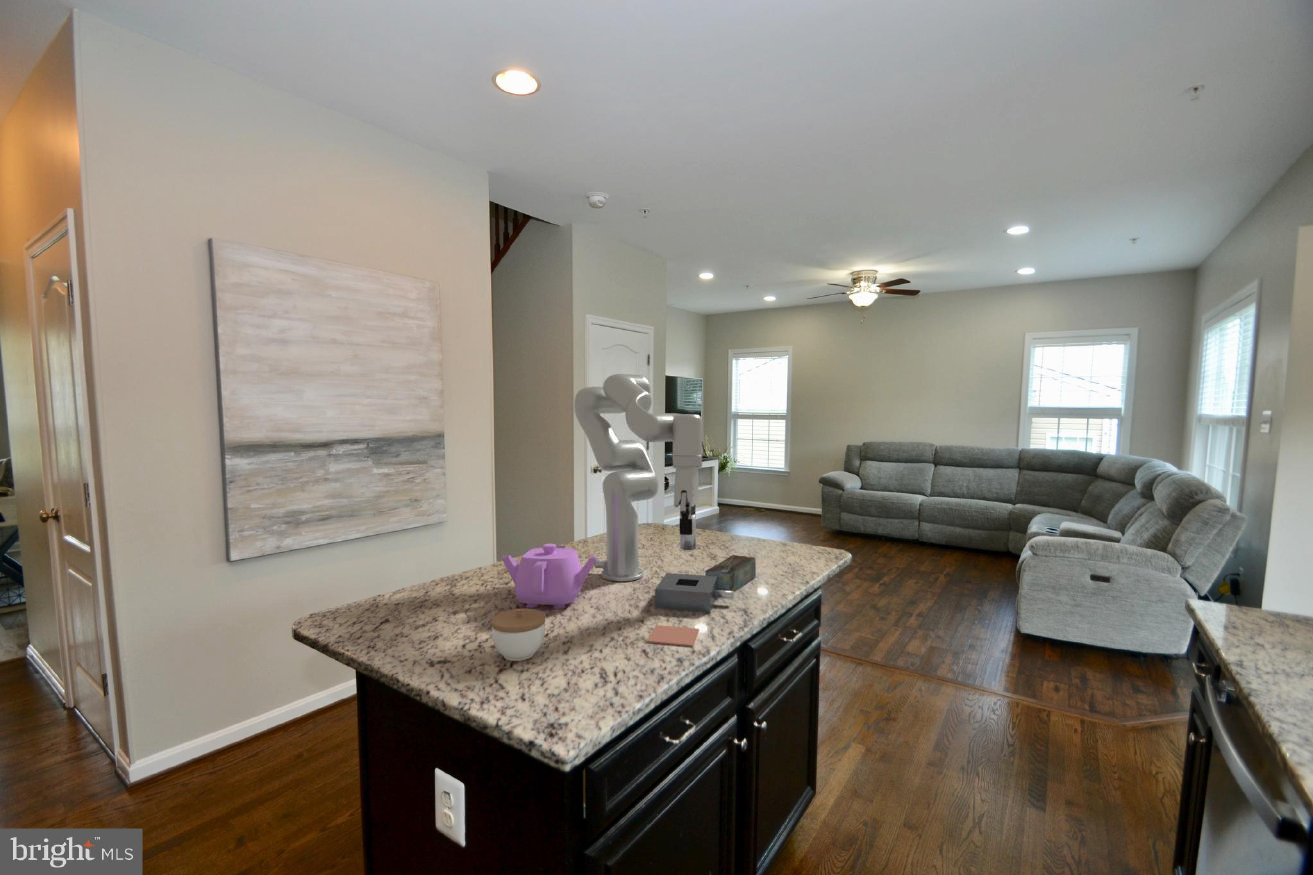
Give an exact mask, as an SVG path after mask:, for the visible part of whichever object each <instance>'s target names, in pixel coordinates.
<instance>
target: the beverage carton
mask: <svg viewBox="0 0 1313 875" xmlns="http://www.w3.org/2000/svg"><path fill="white" fill-rule="evenodd" d="M756 565H757V563H756V557H754V556H753V557H752V556H745V555H737V554H732V555H730V556H729V557H727V558H725V559H724V560H722V561H721V562H719V563H717V564H715V565H713V566H712V567H710V568H707V569H706V570H705V572H704V574H705V575H704V576H718V590H724V591H734V593H735V592H736V591H737V590H739V589H742V587H743V586H745V585H746V584H747V583H749V582H750V581H752V580H753V579H755V578H756V577H757V572H756Z"/></svg>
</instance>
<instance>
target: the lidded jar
mask: <svg viewBox="0 0 1313 875" xmlns="http://www.w3.org/2000/svg"><path fill="white" fill-rule="evenodd" d="M490 623H491V629H492V630H491V631H492V632H491V633H492V639H493V644H494V647H495V648H496V650H497V652H498V653H499V654H500V655H502V656H503V658H504V660H507V661H510V662H520V661H525V660H528V659H530V658H532V657H533V656H535V654H536V652H537V651H538V650H539V648H540V647H541V646H542V643H543V641H544V638H545V637H544V636H545V630H546V614H545V613H544V612H543V611H541V610H539V609H535V608H515V609H509V610H505V611H501V612H499V613H497V614H496V615H494V616H493V617H492V618H491V622H490Z"/></svg>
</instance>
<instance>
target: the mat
mask: <svg viewBox="0 0 1313 875" xmlns="http://www.w3.org/2000/svg"><path fill="white" fill-rule="evenodd" d="M699 632H700V628H696V627H695V628H694V627H693V628H692V627H685V626H684V627H682V626H670V625H660V624H656V625H655V626H654V628H653V630H652V631H651V632H650V634H649V636H648V637H647V639H646V643H647V644H648V643H649V644H656V645H657V644H661V645H668V644H670V646H678V645H679V647H689V648H690V647H691V648H692V647H694V644H695V642H696V639H697V636H698V634H699Z"/></svg>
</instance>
